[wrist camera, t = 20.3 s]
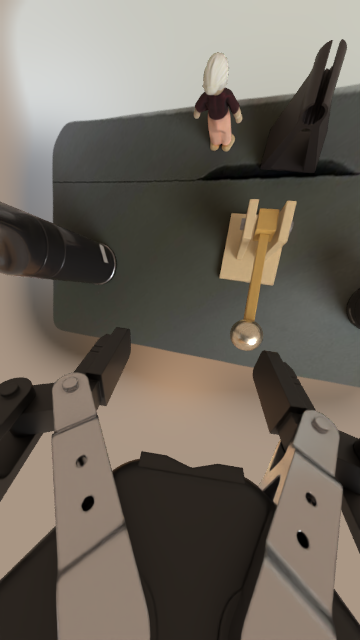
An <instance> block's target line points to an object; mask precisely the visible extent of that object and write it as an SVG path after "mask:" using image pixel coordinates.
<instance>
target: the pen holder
mask: <svg viewBox="0 0 360 640" xmlns="http://www.w3.org/2000/svg"><path fill="white" fill-rule="evenodd" d="M347 314H348V317H349V319H350V321H351V322H352V324H353V325H355V326H356V327H357V328H359V329H360V289H359V290H358V291H356V292H355V293H354V294H353V295H352V297H351V298H350V300H349V302H348V306H347Z"/></svg>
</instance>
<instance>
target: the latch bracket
mask: <svg viewBox="0 0 360 640" xmlns="http://www.w3.org/2000/svg"><path fill="white" fill-rule="evenodd" d="M258 202H259V200H258V199H250V202H249V206H248V210H247V214H236V213H232V214H231V219H230V224H229V230H228V235H227V240H226V246H225V251H224V256H223V262H222V267H221V272H220V278H221V279H228V280H236V281H243V282H250V280H251V275H252V269H253V264H254V258H255V252H256V247H257V241H253V235H254V230H255V224H256V220H257V217H258V215H256V212H257V207H258ZM295 206H296V201H287V202H286V204H285V205H284V207H283V208H282V210H281V211H280V213H279V216H278V222H277V228H276V231H275V234H274V236H273V238H272V240H271V242H268V244H267V250H266V256H265V262H264V267H263V273H262V279H261V284H264V285H273V284H274V280H275V275H276V271H277V267H278V263H279V258H280V254H281V250H282V246H283V245H284V244H285V243H286V242H287V240H288V235H289V234H290V233H291V231H292V228H293V224H294V222H293V221H292V219H293V214H294V210H295Z"/></svg>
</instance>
